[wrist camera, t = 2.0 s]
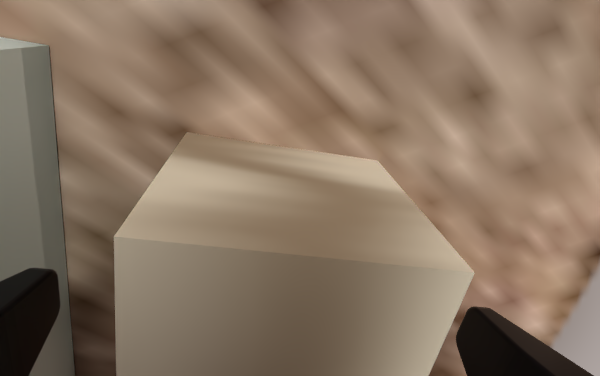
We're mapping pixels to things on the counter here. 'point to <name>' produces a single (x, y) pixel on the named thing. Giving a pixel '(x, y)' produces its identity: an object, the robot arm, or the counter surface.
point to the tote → (32, 187)
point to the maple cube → (280, 268)
